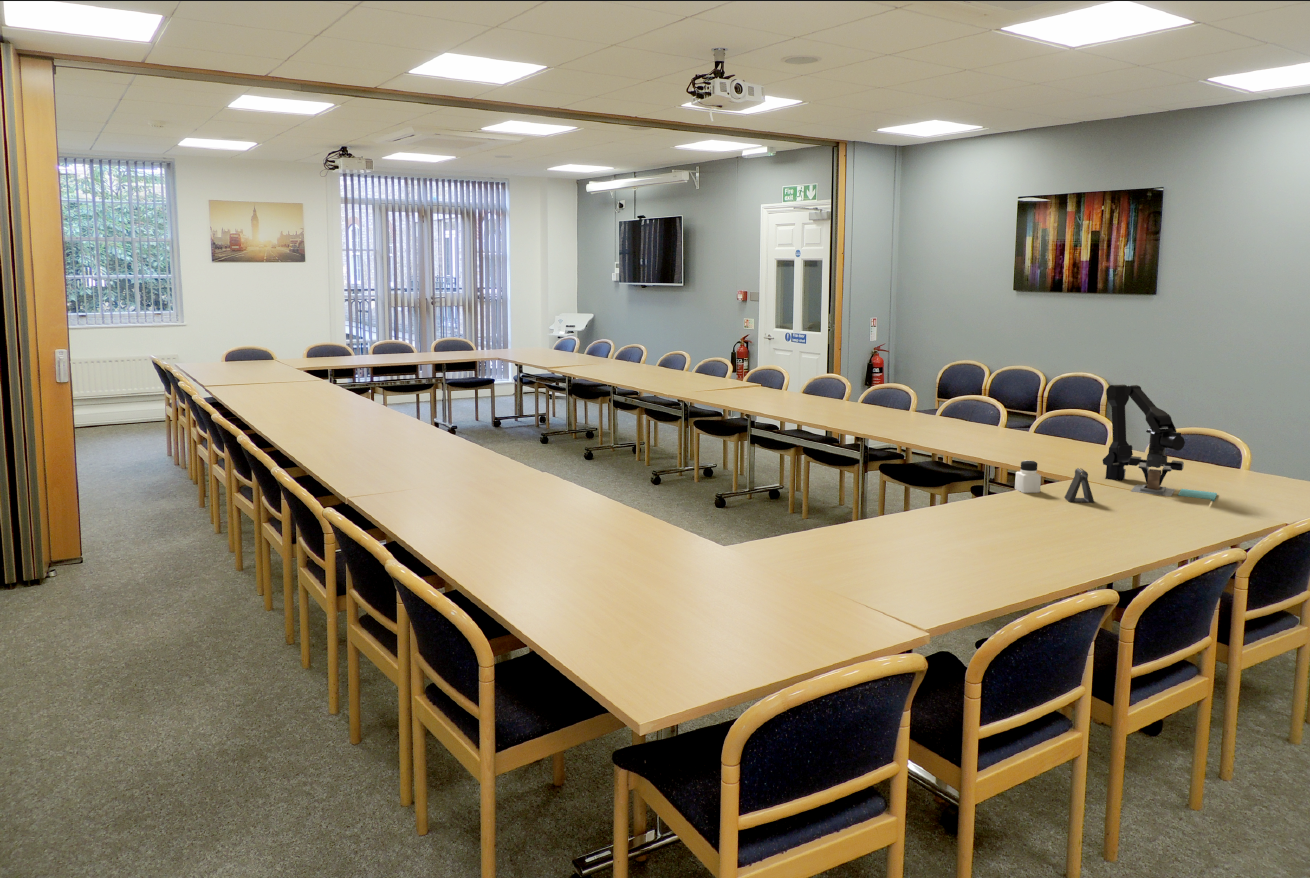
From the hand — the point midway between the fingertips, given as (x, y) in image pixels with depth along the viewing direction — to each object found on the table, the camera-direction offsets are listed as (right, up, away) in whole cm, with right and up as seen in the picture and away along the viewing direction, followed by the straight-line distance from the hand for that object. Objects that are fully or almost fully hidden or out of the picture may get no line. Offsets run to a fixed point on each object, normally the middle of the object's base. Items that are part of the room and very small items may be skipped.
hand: (1153, 484), depth 359 cm
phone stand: (-35, -6, -12) cm, 38 cm away
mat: (+13, -4, -6) cm, 15 cm away
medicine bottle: (-49, -3, +3) cm, 49 cm away
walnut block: (0, -2, 0) cm, 2 cm away
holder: (0, -3, +1) cm, 3 cm away
